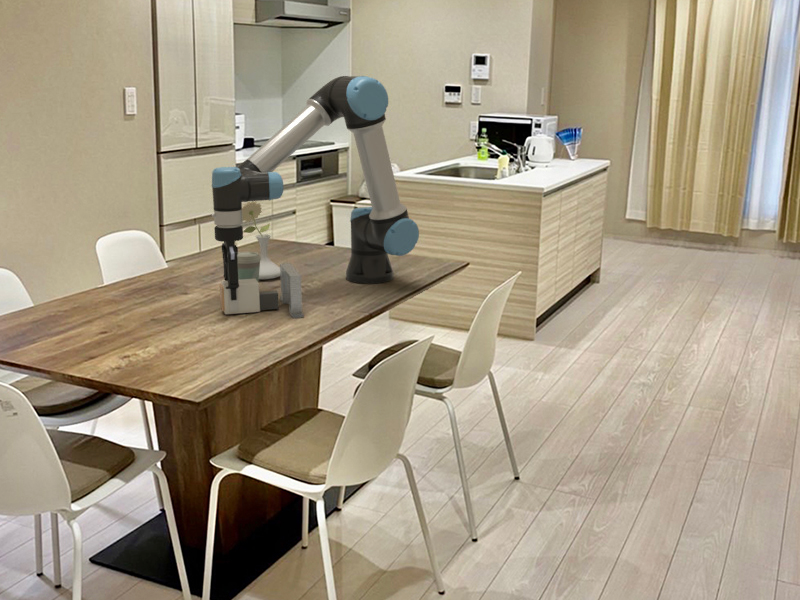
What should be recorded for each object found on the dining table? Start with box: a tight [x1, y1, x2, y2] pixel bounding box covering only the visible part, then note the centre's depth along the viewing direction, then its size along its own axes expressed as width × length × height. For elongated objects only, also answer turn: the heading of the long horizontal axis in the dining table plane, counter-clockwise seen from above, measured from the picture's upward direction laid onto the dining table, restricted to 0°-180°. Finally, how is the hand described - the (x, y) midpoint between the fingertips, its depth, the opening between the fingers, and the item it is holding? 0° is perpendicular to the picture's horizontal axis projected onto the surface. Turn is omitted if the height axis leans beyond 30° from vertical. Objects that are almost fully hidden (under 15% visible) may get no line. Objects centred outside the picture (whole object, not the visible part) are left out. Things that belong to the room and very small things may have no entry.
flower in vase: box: [242, 201, 280, 280], centre depth 281 cm, size 13×11×25 cm
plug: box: [219, 279, 280, 315], centre depth 246 cm, size 16×6×8 cm, turn 107°
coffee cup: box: [237, 251, 261, 283], centre depth 264 cm, size 8×9×12 cm
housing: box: [279, 262, 305, 319], centre depth 249 cm, size 3×21×11 cm, turn 17°
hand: (232, 307), depth 245 cm, fingers closed on plug, 6 cm apart
